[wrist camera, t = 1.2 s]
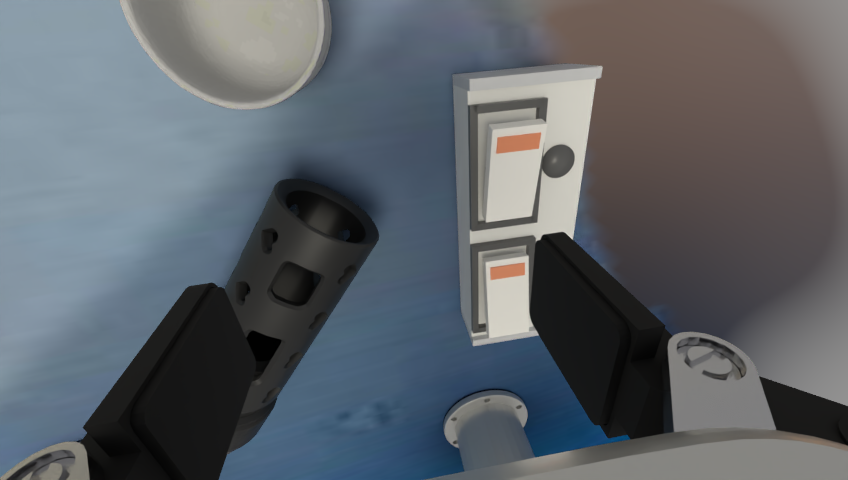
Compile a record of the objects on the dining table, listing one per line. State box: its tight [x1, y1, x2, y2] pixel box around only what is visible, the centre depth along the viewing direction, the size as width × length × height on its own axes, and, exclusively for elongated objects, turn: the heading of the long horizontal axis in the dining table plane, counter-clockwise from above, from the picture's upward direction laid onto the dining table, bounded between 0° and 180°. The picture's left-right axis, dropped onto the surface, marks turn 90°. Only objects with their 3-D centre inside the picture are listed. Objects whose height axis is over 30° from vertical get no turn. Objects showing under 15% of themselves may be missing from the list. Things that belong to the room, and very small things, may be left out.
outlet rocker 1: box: [483, 119, 547, 222], centre depth 28 cm, size 8×4×2 cm, turn 4°
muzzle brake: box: [224, 179, 379, 454], centre depth 33 cm, size 10×28×10 cm, turn 147°
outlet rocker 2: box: [482, 252, 529, 338], centre depth 34 cm, size 8×4×2 cm, turn 5°
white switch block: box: [453, 63, 603, 346], centre depth 34 cm, size 26×10×6 cm, turn 5°
